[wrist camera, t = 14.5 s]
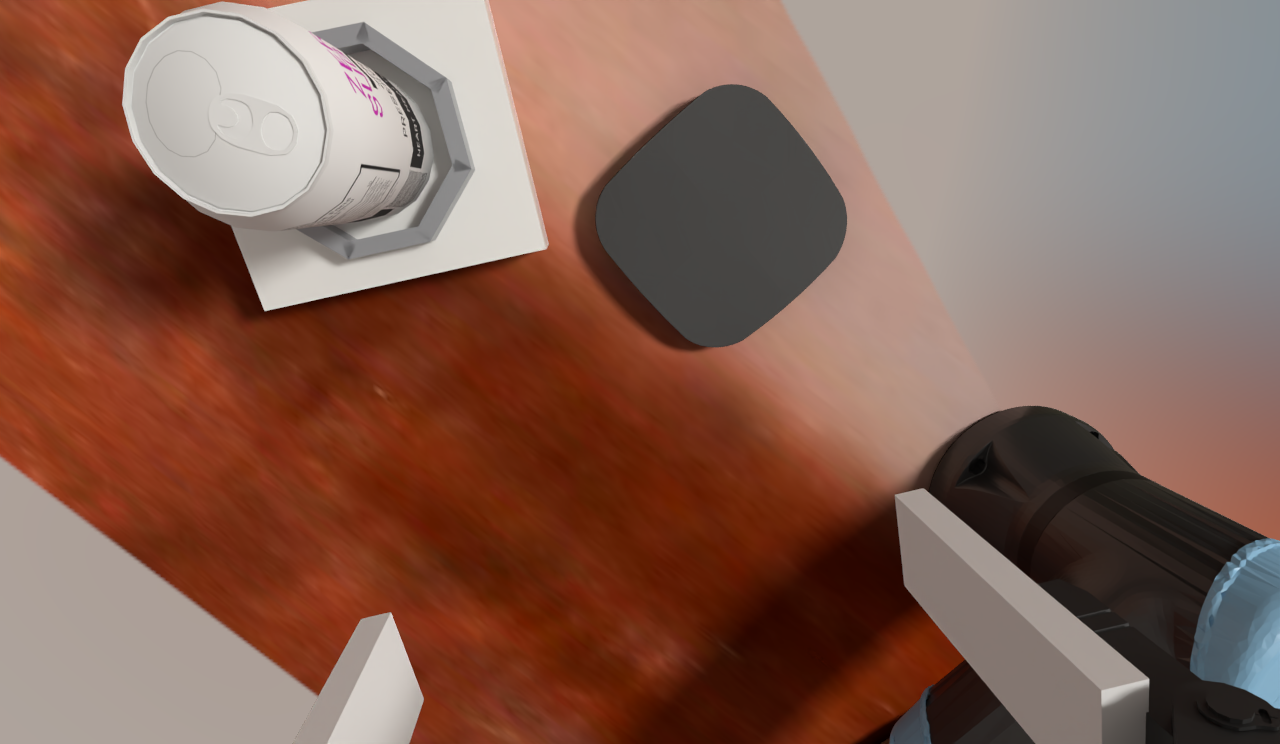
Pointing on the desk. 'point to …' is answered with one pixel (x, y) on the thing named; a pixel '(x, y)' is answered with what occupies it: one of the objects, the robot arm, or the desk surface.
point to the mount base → (462, 165)
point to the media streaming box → (722, 216)
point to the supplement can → (271, 122)
